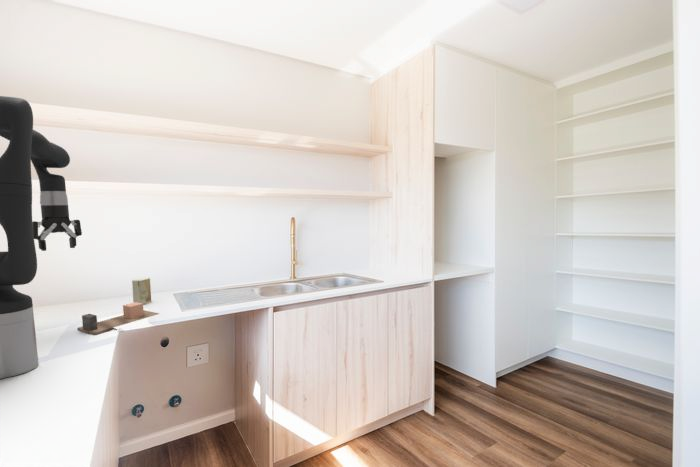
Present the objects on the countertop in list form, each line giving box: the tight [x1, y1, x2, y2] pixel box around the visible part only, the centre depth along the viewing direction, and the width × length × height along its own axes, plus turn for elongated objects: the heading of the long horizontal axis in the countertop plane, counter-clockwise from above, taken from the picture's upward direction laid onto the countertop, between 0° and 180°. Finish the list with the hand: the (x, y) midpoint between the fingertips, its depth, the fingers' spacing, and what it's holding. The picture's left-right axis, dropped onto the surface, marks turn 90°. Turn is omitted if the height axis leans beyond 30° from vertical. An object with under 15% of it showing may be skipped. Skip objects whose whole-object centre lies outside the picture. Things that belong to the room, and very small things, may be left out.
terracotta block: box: [122, 302, 144, 319], centre depth 140 cm, size 5×5×5 cm
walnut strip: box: [77, 309, 160, 336], centre depth 136 cm, size 24×12×6 cm, turn 151°
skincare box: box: [131, 277, 152, 306], centre depth 159 cm, size 6×4×12 cm
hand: (58, 249), depth 126 cm, fingers open, 8 cm apart
